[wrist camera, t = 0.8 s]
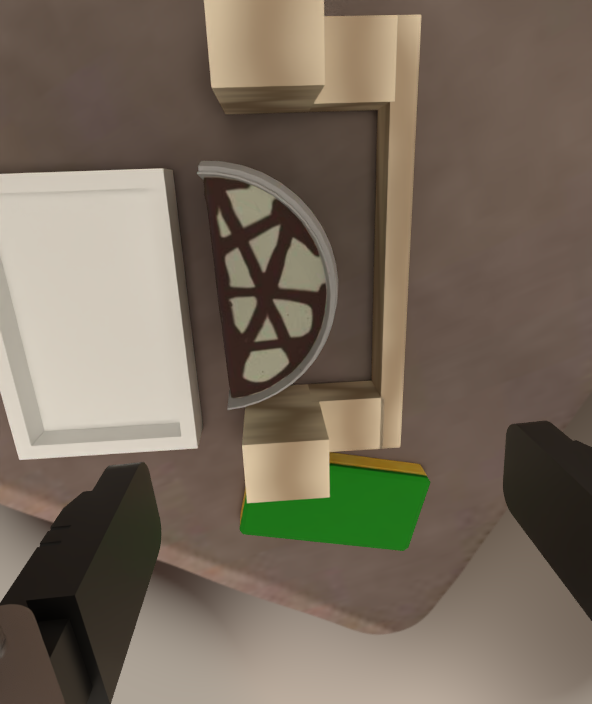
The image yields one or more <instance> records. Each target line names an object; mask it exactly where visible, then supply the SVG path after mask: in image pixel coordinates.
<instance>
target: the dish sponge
mask: <svg viewBox="0 0 592 704" xmlns="http://www.w3.org/2000/svg"><path fill="white" fill-rule="evenodd" d="M329 477H330V497H327V498H313V499H300V500H286V501H272V502H258V503H247V496H246V487H245V493H244V498H243V504H242V509H241V516H240V531H241V532H242V533H243V534H247V535H257V536H266V537H276V538H285V539H295V540H304V541H314V542H324V543H333V544H343V545H352V546H362V547H371V548H381V549H391V550H400V551H404V550H405V549H407V548H408V547H409V544H410V541H411V538H412V535H413V532H414V529H415V526H416V523H417V520H418V517H419V514H420V511H421V508H422V505H423V503H424V500H425V497H426V494H427V491H428V488H429V485H430V481H429V479H428V477H427V475H426V474H425V472H424V470H423V468H422V467H421V465H420V464H414V463H407V462H399V461H392V460H384V459H377V458H369V457H362V456H354V455H347V454H339V453H332V452H329Z"/></svg>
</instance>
